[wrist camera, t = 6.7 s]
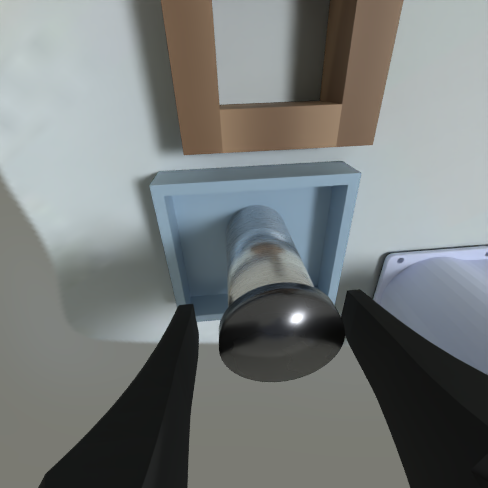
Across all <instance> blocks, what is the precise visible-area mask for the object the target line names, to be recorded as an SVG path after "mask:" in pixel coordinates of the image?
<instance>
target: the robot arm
mask: <svg viewBox="0 0 488 488" xmlns="http://www.w3.org/2000/svg"><path fill="white" fill-rule="evenodd" d="M399 258H400V259H399ZM398 259H399V260H398ZM341 319H342V321H343V323H344V327H345V336H346V338H347V341H348V343H349V345H350V347H351V349H352V351H353V353H354V355H355V356H356V358H357V360H358V362H359V364H360V366H361V368H362V370H363V371H364V374H365V376H366V378H367V379H368V381H369V383H370V385H371V387H372V389H373V391H374V393H375V395H376V398H377V400H378V402H379V404H380V407H381V409H382V412H383V414H384V417H385V419H386V422H387V424H388V427H389V429H390V432H391V435H392V437H393V440H394V442H395V445H396V448H397V451H398V453H399V456H400V459H401V462H402V464H403V467H404V470H405V473H406V476H407V478H408V482H409V485H410V488H488V246H478V247H465V248H452V249H439V250H427V251H414V252H401V253H392V254H389V255H388V256H387V257H386V259H385V262H384V265H383V268H382V271H381V275H380V278H379V281H378V285H377V288H376V291H375V294H374V298H373V299H372V298H370V297H369V296H368V295H366V294H365V293H364V292H362V291H361V290H349V291H347V294H346V298H345V303H344V307H343V311H342V316H341ZM198 347H199V332H198V327H197V322H196V316H195V311H194V305H193V304H184V305H179V306H178V307H177V310H176V312H175V314H174V316H173V318H172V320H171V322H170V324H169V326H168V328H167V329H166V331H165V333H164V335H163V336H162V338H161V340H160V342H159V343H158V345H157V347H156V348H155V350H154V351H153V353H152V354H151V356H150V357H149V359H148V360H147V362H146V364H145V365H144V367H143V368H142V369H141V371H140V372H139V373H138V375H137V376H136V378H135V379H134V380H133V381H132V383H131V384H130V386H129V387H128V388H127V389H126V390H125V392H124V393H123V394H122V396H121V397H120V398H119V399H118V400H117V401H116V403H115V404H114V405H113V406H112V407H111V408H110V410H109V411H108V412H107V413H106V414H105V415H104V416H103V417H102V418H101V419H100V420H99V421H98V423H97V424H96V425H95V426H94V427H93V428H92V429H91V430H90V431H89V432H88V433H87V434H86V435H85V436H84V437H83V439H81V441H79V443H77V444H76V445H75V446H74V447H73V448H72V449H71V450H70V451H69V452H68V453H67V454H66V455H65V456H64V457H63V458H62V459H61V460H60V461H59V462H58V463H57V464H56V465H55V466H54V467H52V468H51V469H50V470H49V471H48V472H47V473H46V474H45V476H44V478H43V480H42V482H41V484H40V485H39V487H38V488H187V482H188V454H189V432H190V415H191V406H192V398H193V391H194V383H195V376H196V369H197V361H198Z"/></svg>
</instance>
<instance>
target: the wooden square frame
mask: <svg viewBox="0 0 488 488" xmlns="http://www.w3.org/2000/svg"><path fill="white" fill-rule="evenodd" d="M161 5H162V12H163V19H164V25H165V32H166V39H167V45H168V52H169V59H170V66H171V72H172V79H173V86H174V93H175V99H176V106H177V113H178V119H179V126H180V133H181V140H182V146H183V153H184V155H194V154H213V153H232V152H250V151H269V150H288V149H306V148H325V147H344V146H362V145H373V141H374V136H375V132H376V127H377V122H378V118H379V113H380V108H381V103H382V99H383V94H384V89H385V85H386V80H387V75H388V71H389V66H390V61H391V57H392V52H393V47H394V43H395V38H396V33H397V28H398V24H399V19H400V14H401V10H402V5H403V0H330V6H329V16H328V25H327V35H326V45H325V54H324V64H323V74H322V83H321V93H320V101H297V102H274V103H251V104H228V105H219V94H218V80H217V66H216V52H215V38H214V25H213V11H212V0H161Z"/></svg>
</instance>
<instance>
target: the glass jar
mask: <svg viewBox="0 0 488 488" xmlns="http://www.w3.org/2000/svg"><path fill="white" fill-rule="evenodd" d="M226 258H227V286H228V308H227V309H226V311H225V312H224V314H223V316H222V318H221V321H220V325H219V352H220V356H221V358H222V361H223V362H224V363H225V365H226V366H227V367H228V368H229V369H230V370H231V371H233V372H234V373H236V374H238V375H239V376H242V377H244V378H247V379H251V380H255V381H262V382H281V381H288V380H293V379H297V378H300V377H303V376H306V375H308V374H311V373H313V372H315V371H317V370H318V369H320V368H322V367H323V366H325V365H326V364H327V363H329V362H330V361H331V360H332V359H333V358H334V357H335V356H336V355H337V353H338V352H339V350H340V349H341V347H342V345H343V342H344V338H345V327H344V323H343V321H342V319H341V317H340V315H339V313H338V311H337V309H336V307H335V306H334V304H333V302H332V301H331V299H330V298H329V297H328V296H327V295H326V294H325V293H323V292H322V291H320V290H318V289H316V288H315V287H314V285H313V283H312V281H311V279H310V276H309V274H308V272H307V270H306V268H305V266H304V264H303V261H302V259H301V257H300V255H299V253H298V251H297V248H296V246H295V244H294V242H293V240H292V238H291V235H290V233H289V231H288V229H287V227H286V225H285V223H284V220H283V218H282V217H281V215H280V214H279V213H278V212H277V211H275V210H274V209H272V208H270V207H267V206H263V205H252V206H248V207H245V208H243V209H241V210H239V211H238V212H236V213H235V214H234V215H233V216H232V217H231V219H230V220H229V222H228V224H227V227H226Z"/></svg>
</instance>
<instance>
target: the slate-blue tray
mask: <svg viewBox="0 0 488 488" xmlns="http://www.w3.org/2000/svg"><path fill="white" fill-rule="evenodd" d="M360 178H361V172H359V171H358V170H356V169H354V168H353V167H351V166H349V165H348V164H346V163H345V162H343V161H334V162H317V163H299V164H281V165H264V166H246V167H229V168H211V169H193V170H176V171H159V172H158V173H157V175H156V176H155V178H154V179H153V181H152V182H151V184H150V185H149V186H150V191H151V195H152V199H153V204H154V208H155V212H156V217H157V221H158V226H159V230H160V234H161V239H162V243H163V247H164V252H165V256H166V260H167V265H168V269H169V274H170V278H171V282H172V287H173V291H174V295H175V300H176V304H177V307H178V306H179V305H184V304H193V305H194V311H195V316H196V322H201V321H212V320H221V318H222V316H223V314H224V312H225V311H226V309H227V308H228V286H227V258H226V227H227V224H228V222H229V220H230V219H231V217H232V216H233V215H234V214H235V213H236V212H238V211H239V210H241V209H243V208H245V207H248V206H252V205H263V206H267V207H270V208H272V209H274V210H275V211H277V212H278V213H279V214H280V215H281V217H282V218H283V220H284V223H285V225H286V227H287V229H288V231H289V233H290V235H291V238H292V240H293V242H294V244H295V246H296V248H297V251H298V253H299V255H300V257H301V259H302V261H303V264H304V266H305V268H306V270H307V272H308V274H309V276H310V279H311V281H312V283H313V285H314V287H315V288H316V289H318V290H320V291H322V292H323V293H325V294H326V295H327V296H328V297H329V298H330V299H331V301H332V302H333V304H334V306H335V301H336V296H337V291H338V286H339V281H340V276H341V271H342V266H343V262H344V257H345V252H346V247H347V242H348V237H349V232H350V227H351V222H352V217H353V212H354V207H355V202H356V198H357V193H358V188H359V183H360Z"/></svg>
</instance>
